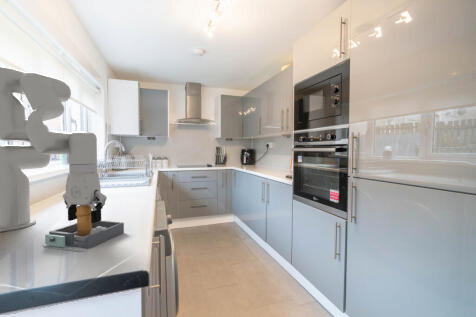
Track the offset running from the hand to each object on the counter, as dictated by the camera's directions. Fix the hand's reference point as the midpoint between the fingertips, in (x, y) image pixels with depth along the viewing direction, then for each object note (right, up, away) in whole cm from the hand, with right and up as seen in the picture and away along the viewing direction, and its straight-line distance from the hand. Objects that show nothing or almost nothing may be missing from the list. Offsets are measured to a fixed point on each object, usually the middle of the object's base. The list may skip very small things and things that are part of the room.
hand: (84, 220), depth 71 cm
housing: (+1, -6, -1) cm, 6 cm away
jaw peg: (0, -5, 0) cm, 5 cm away
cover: (-3, -5, -8) cm, 10 cm away
